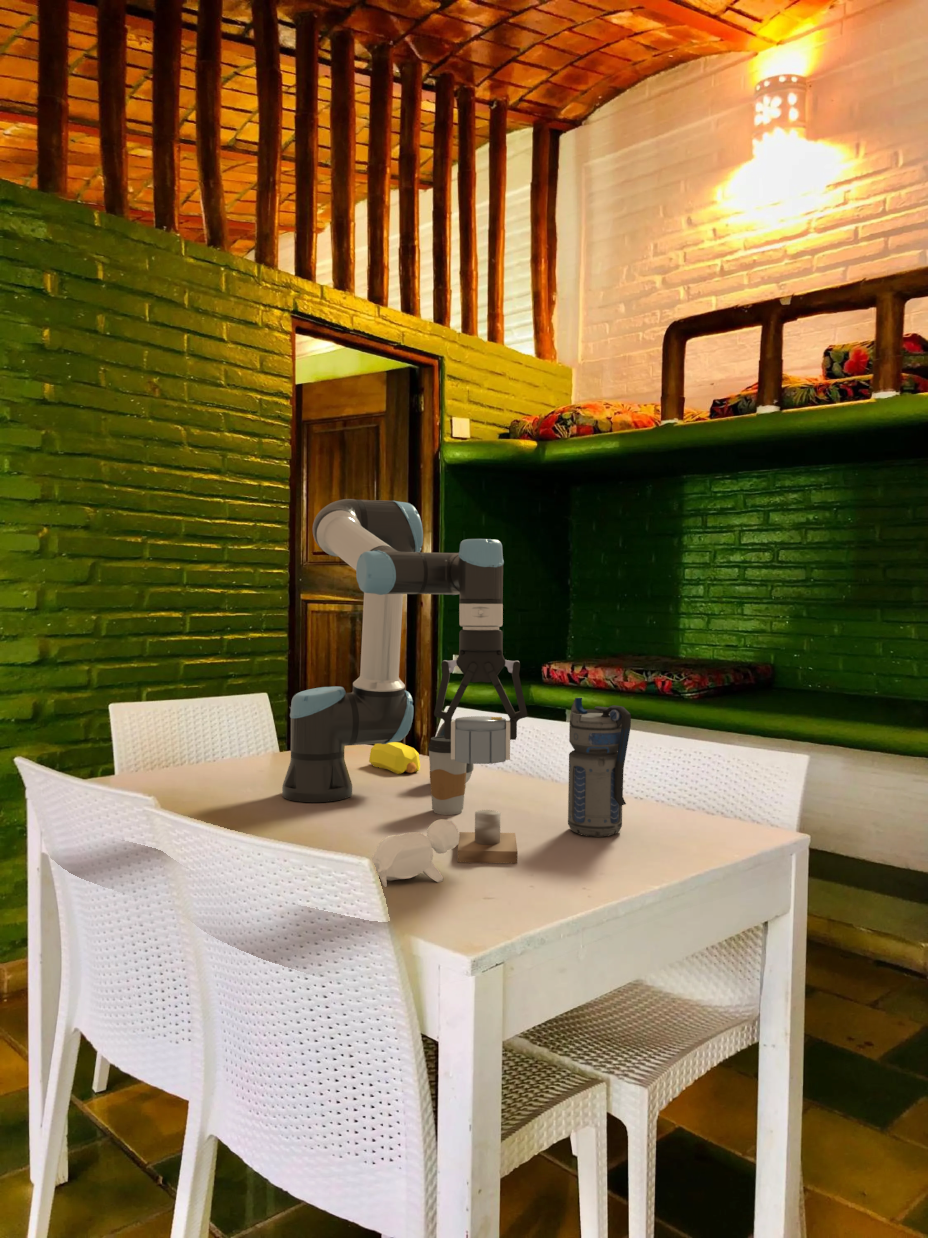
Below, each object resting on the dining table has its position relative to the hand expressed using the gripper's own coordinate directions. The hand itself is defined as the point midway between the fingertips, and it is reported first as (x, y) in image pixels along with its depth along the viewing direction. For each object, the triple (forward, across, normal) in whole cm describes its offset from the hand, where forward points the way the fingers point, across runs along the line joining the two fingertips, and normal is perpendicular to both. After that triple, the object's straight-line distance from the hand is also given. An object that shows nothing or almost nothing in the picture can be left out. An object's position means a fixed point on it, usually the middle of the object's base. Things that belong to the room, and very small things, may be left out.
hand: (480, 758), depth 168 cm
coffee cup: (+16, -7, +29) cm, 34 cm away
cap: (0, 0, 0) cm, 0 cm away
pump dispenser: (+16, -7, +55) cm, 58 cm away
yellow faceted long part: (+16, -22, +73) cm, 78 cm away
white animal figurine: (+17, -10, -15) cm, 25 cm away
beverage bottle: (+17, +22, +15) cm, 31 cm away
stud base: (+16, +1, -1) cm, 16 cm away
